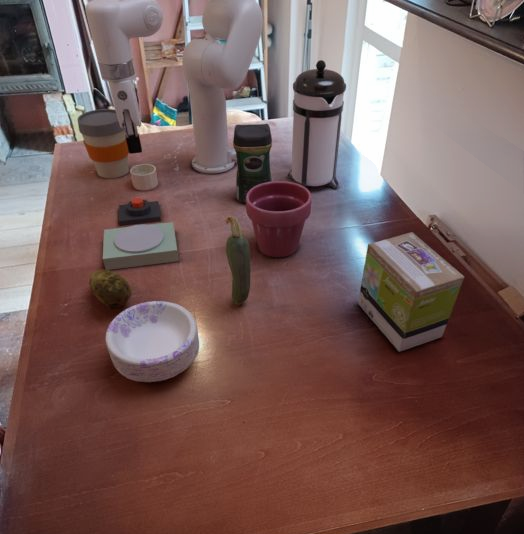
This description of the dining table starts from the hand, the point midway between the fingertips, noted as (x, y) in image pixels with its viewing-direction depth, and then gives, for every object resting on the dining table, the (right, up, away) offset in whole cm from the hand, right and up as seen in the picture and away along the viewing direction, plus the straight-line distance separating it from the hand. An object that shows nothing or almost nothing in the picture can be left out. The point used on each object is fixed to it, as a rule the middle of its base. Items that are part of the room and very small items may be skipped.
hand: (135, 151), depth 118 cm
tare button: (0, -13, +1) cm, 13 cm away
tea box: (+58, -44, -25) cm, 77 cm away
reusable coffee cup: (-12, +3, +21) cm, 24 cm away
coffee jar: (+29, -9, +9) cm, 32 cm away
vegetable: (+27, -40, -22) cm, 53 cm away
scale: (+4, -26, -8) cm, 28 cm away
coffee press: (+45, -2, +16) cm, 47 cm away
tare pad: (0, -15, +3) cm, 15 cm away
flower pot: (+35, -25, -7) cm, 44 cm away
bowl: (-1, -4, +14) cm, 15 cm away
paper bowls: (+13, -51, -32) cm, 62 cm away
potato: (+1, -39, -20) cm, 44 cm away
